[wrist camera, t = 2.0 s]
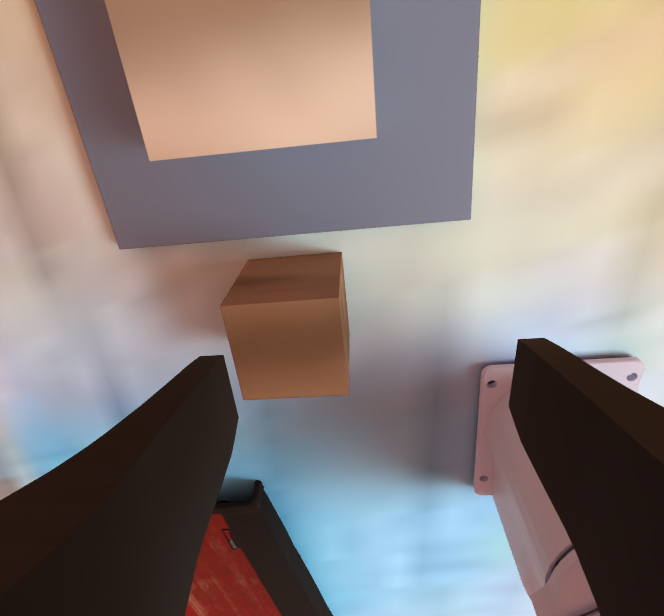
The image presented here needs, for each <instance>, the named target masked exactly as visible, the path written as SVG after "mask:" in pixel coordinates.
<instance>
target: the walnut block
mask: <svg viewBox="0 0 664 616" xmlns="http://www.w3.org/2000/svg"><path fill="white" fill-rule="evenodd" d="M220 307H221V311H222V315H223V319H224V323H225V327H226V332H227V336H228V340H229V344H230V348H231V352H232V356H233V360H234V364H235V368H236V372H237V376H238V380H239V385H240V389H241V393H242V397H243V400H257V399H276V398H295V397H314V396H332V395H349V324H348V313H347V303H346V292H345V282H344V271H343V261H342V252H338V253H326V254H314V255H301V256H289V257H277V258H264V259H252V260H248V261H247V263H246V265H245V266H244V268H243V270H242V271H241V273H240V275H239V276H238V278H237V280H236V281H235V283H234V285H233V286H232V288H231V289H230V291H229V293H228V294H227V296H226V298H225V299H224V301H223V303H222V304H221V306H220Z"/></svg>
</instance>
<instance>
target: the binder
mask: <svg viewBox="0 0 664 616" xmlns="http://www.w3.org/2000/svg"><path fill="white" fill-rule="evenodd" d="M185 616H333V615H332V613H331V611H330V610H329V608H328V606H327V605H326V603H325V601H324V599H323V597H322V595H321V593H320V591H319V589H318V587H317V585H316V584H315V582H314V580H313V578H312V576H311V574H310V573H309V571H308V569H307V567H306V565H305V564H304V562H303V560H302V558H301V556H300V555H299V553H298V552H297V550H296V548H295V547H294V545H293V543H292V541H291V538H290V537H289V535H288V533H287V531H286V529H285V527H284V525H283V523H282V521H281V519H280V518H279V516H278V514H277V512H276V510H275V509H274V507H273V505H272V503H271V501H270V500H269V498H268V496H267V494H266V493H265V491H264V486H263V484H262V482H261V481H259V480H256V481H255V485H254V492H253V496H252V499H251V502H242V503H231V502H228V501H220V502H217V503H216V504H215V507H214V510H213V513H212V516H211V519H210V522H209V525H208V528H207V531H206V534H205V537H204V540H203V543H202V547H201V550H200V554H199V557H198V560H197V565H196V569H195V573H194V578H193V582H192V587H191V591H190V595H189V600H188V604H187V609H186V613H185Z"/></svg>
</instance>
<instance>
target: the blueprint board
mask: <svg viewBox="0 0 664 616" xmlns="http://www.w3.org/2000/svg"><path fill="white" fill-rule="evenodd" d="M35 3H36V6H37V9H38V12H39V15H40V18H41V21H42V24H43V27H44V30H45V33H46V36H47V38H48V41H49V44H50V47H51V50H52V53H53V56H54V59H55V62H56V65H57V68H58V71H59V74H60V76H61V79H62V82H63V85H64V88H65V91H66V94H67V97H68V100H69V103H70V106H71V109H72V112H73V114H74V117H75V120H76V123H77V126H78V129H79V132H80V135H81V138H82V141H83V144H84V147H85V149H86V152H87V155H88V158H89V161H90V164H91V167H92V170H93V173H94V176H95V179H96V182H97V185H98V187H99V190H100V193H101V196H102V199H103V202H104V205H105V208H106V211H107V214H108V217H109V220H110V223H111V225H112V228H113V231H114V234H115V237H116V240H117V243H118V246H119V249H130V248H142V247H154V246H165V245H177V244H189V243H200V242H212V241H224V240H236V239H247V238H259V237H271V236H282V235H294V234H306V233H317V232H329V231H341V230H352V229H364V228H376V227H388V226H399V225H411V224H423V223H434V222H446V221H458V220H469V219H471V201H472V179H473V158H474V136H475V115H476V93H477V72H478V50H479V29H480V7H481V0H35Z"/></svg>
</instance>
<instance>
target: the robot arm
mask: <svg viewBox="0 0 664 616" xmlns="http://www.w3.org/2000/svg"><path fill="white" fill-rule="evenodd" d="M643 370H644V364H643V362H642V361H641V360H640V359H638V358H636V357H623V358H605V359H588V360H581V359H580V358H578V357H576V356H575V355H573V354H572V353H570V352H568V351H567V350H565V349H563V348H562V347H560V346H558V345H556V344H555V343H553V342H551V341H549V340H547V339H545V338H534V339H518V343H517V350H516V356H515V363H514V364H500V365H489V366H486V367H485V368H484V369H483V370H482V372H481V381H480V395H479V409H478V424H477V438H476V453H475V467H474V482H473V487H474V490H475V493H476V494H479V495H492V496H493V499H494V502H495V504H496V507H497V510H498V513H499V516H500V519H501V522H502V525H503V528H504V531H505V534H506V537H507V540H508V542H509V545H510V548H511V551H512V554H513V557H514V560H515V563H516V566H517V569H518V572H519V575H520V577H521V580H522V583H523V585H524V588H525V590H526V592H527V594H528V596H529V597H530V599H531V601H532V603H533V606H534V609H535V612H536V615H537V616H664V407H662V406H660V405H658V404H657V403H655V402H653V401H651V400H649V399H647V398H645V397H644V396H642V395H640V394H638V393H637V391H638V388H639V384H640V381H641V377H642V373H643ZM630 373H632V375H630V376H628V375H629V374H630ZM492 380H493V381H494V382H493V383H491V384H487V383H488V382H489V381H492ZM238 418H239V417H238V413H237V409H236V405H235V401H234V397H233V393H232V388H231V384H230V380H229V376H228V372H227V368H226V364H225V359H224V355H215V356H200V357H198V358H197V359H196V360H194V361H193V362H192V363H190V364H189V365H188V366H187V367H186V368H184V369H183V370H182V371H181V372H180V373H179V374H177V375H176V376H175V377H174V378H173V379H172V380H170V381H169V382H168V383H167V384H166V385H165V386H163V387H162V388H161V389H160V390H159V391H158V392H156V393H155V394H154V395H153V396H152V397H150V398H149V399H148V400H147V401H146V402H145V403H143V404H142V405H141V406H140V407H139V408H137V409H136V410H135V411H133V412H132V413H131V414H130V415H128V416H127V417H126V418H124V419H123V420H122V421H121V422H119V423H118V424H117V425H115V426H114V427H113V428H112V429H110V430H109V431H108V432H107V433H105V434H104V435H103V436H101V437H100V438H98V439H97V440H96V441H94V442H93V443H92V444H90V445H89V446H87V447H86V448H84V449H83V450H82V451H80V452H79V453H77V454H76V455H74V456H73V457H71V458H70V459H68V460H66V461H65V462H63V463H62V464H60V465H59V466H57V467H56V468H54V469H53V470H51V471H50V472H48V473H46V474H45V475H43V476H41V477H39V478H38V479H36V480H34V481H33V482H31V483H29V484H28V485H26V486H24V487H22V488H21V489H19V490H17V491H16V492H14V493H12V494H11V495H9V496H7V497H5V498H4V499H2V500H0V616H185V613H186V609H187V604H188V600H189V595H190V591H191V587H192V582H193V578H194V573H195V569H196V565H197V560H198V557H199V554H200V550H201V547H202V543H203V540H204V537H205V534H206V531H207V528H208V525H209V522H210V519H211V516H212V513H213V510H214V507H215V504H216V501H217V498H218V495H219V492H220V489H221V486H222V483H223V480H224V477H225V473H226V470H227V467H228V464H229V461H230V458H231V455H232V450H233V445H234V440H235V435H236V429H237V423H238ZM484 475H485V476H484Z"/></svg>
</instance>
